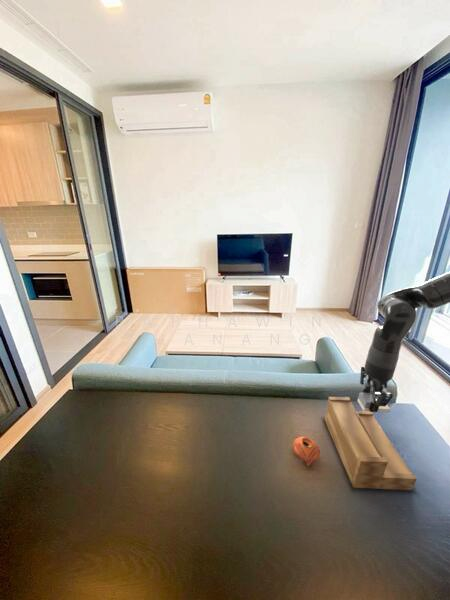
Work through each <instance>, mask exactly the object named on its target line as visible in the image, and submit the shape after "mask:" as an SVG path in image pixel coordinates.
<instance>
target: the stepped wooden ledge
mask: <svg viewBox="0 0 450 600" xmlns="http://www.w3.org/2000/svg"><path fill="white" fill-rule="evenodd" d="M350 398H351V397H349V396H328V399H327V403H326V409H325V415H324V419H323V420H324V421H325V425H326V426H327V429H328V431H329V434H330V436H331V438H332V441H333V444H334V446H335V448H336V450H337V452H338V453H337V454H338V455H339V457H340V460H341V462H342V464H343V467H344V470H345V471H346V474H347V476H348V479H349V481H350V483H351V486H352V488H355V489H356V488H357V489H375V490H376V489H379V490H400V491H401V490H402V491H403V490H404V491H412V490H413V488H414V487H415V484H416V482H417V477H416V476H415V473H412V472H411V471H410V469H409V467H408V466H407V464H406V463H405V461H404V460H403V458H402V456H401V455H400V454H399V453H398V451H397V449H396V448H395V446H394V445H393V444H392V442H391V441H390V439H389V437H388V436H387V435H386V433H385V432H384V430H383V428H382V427H381V425H380V424H379V423H378V421H377V420H376V418H375V417H374V412H370V411H364V410H356V408H355V407H354V405H353V403H352V402H351V399H350Z"/></svg>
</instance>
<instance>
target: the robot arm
mask: <svg viewBox="0 0 450 600" xmlns="http://www.w3.org/2000/svg"><path fill="white" fill-rule="evenodd" d="M447 304H450V271H449V272H446V273H444V274H442V275H439V276H436V277H434V278H432V279H429V280H428V281H425V282H423V283H421V284H419V285H415V286H410V287H406V288H403V289H399V290H398V289H397V290H395V291H392V292H390V293H386V294H385V295H383V296H382V297H381V298H380V299H379V300H378V302H377V305H376V308H377V311H378V313H379V314H380V315H381V316H382V317H383V318H384V323H383V325H380V326H378V327H377V328H376V329H375V331H374V333H373V335H372V336H373V337H372V341H371V344H370V346H369V348H368V352H367V356H366V359H365V363H364V366H361V367H360V377H359V384H360V385H362V386H361V388H362V392H364V393H371V395H372V401H371V404H370V408H369V410H370V412H372V413H377V412H378V409H379V406H386V405H388V404H389V403H390V401H391V400H392V399H393V398H394V395H393V393H392V392H389V390H388V383H389V381H391V380H392V379H393V377H394V374H395V372H396V368H397V364H398V362H399V361H398V360H399V357H400V351H401V348H402V345H403V341H404V339H405V338H406V336H407V335H408V334H409V332H410V330H411V329H412V328H413V326H414V325H415V323H416V320H417V309H418V308H424V309H428V310H433V309H438V308H440V307H443V306H445V305H447ZM378 413H379V412H378Z"/></svg>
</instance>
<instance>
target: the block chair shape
mask: <svg viewBox="0 0 450 600" xmlns="http://www.w3.org/2000/svg"><path fill="white" fill-rule="evenodd" d="M371 401H372V395H371V393H364V392H363V391H362V392H361V391H360V392H359V394H358V397H357V403H358V404H359V406H360V407H361V409H362V411H370V410H369V408H370V404H371ZM390 412H391V408H390V407H389V405H388V404H387V405H386V406H379V409H378V413H390Z"/></svg>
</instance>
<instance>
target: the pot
mask: <svg viewBox="0 0 450 600" xmlns="http://www.w3.org/2000/svg"><path fill="white" fill-rule="evenodd" d="M292 449H293V452H294V453H295V455H296V456H297V457H298V458H299V459H300V460H302V461H304V462H305V463H306V466H307V467H309V466H311V464H312V462H315V461H318V459H319V458H320V455H321V450H320V447H319V446H318V444H317V443H316V442H315V441H314V440H312V438H310V437H307V436H299V437H296V438H295V440H294V441H293V443H292Z"/></svg>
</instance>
